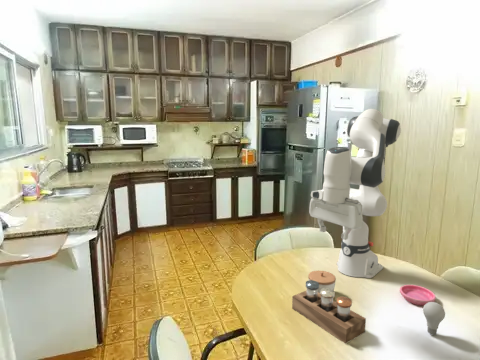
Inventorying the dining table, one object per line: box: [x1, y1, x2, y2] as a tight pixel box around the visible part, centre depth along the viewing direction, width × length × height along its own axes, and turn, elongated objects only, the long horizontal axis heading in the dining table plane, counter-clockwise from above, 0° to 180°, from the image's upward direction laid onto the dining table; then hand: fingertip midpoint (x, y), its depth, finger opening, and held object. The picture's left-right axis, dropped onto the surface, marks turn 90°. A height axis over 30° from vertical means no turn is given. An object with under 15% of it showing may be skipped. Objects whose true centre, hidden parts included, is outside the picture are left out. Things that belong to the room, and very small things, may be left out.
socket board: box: [291, 289, 367, 345], centre depth 112 cm, size 10×24×5 cm, turn 34°
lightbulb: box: [422, 301, 446, 336], centre depth 103 cm, size 6×6×11 cm
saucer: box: [399, 284, 437, 307], centre depth 125 cm, size 12×12×3 cm
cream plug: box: [320, 288, 335, 311], centre depth 111 cm, size 5×5×6 cm
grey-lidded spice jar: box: [305, 279, 319, 302], centre depth 117 cm, size 5×5×6 cm
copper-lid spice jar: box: [335, 296, 353, 321], centre depth 106 cm, size 5×5×6 cm
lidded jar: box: [307, 270, 337, 293], centre depth 129 cm, size 11×11×9 cm
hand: (333, 235), depth 110 cm, fingers open, 8 cm apart
